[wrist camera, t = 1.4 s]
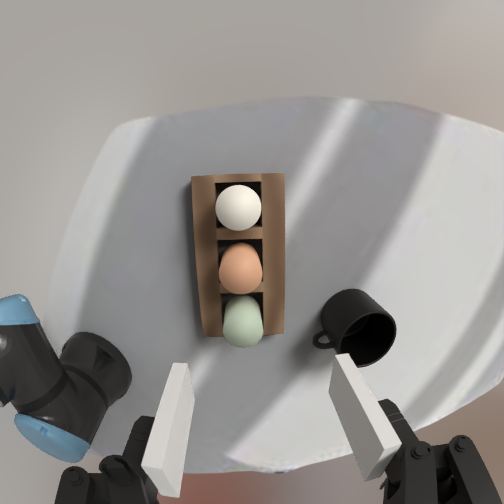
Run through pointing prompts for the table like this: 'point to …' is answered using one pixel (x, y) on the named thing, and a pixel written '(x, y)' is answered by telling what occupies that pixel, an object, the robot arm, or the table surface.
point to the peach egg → (240, 268)
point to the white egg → (238, 207)
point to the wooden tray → (267, 231)
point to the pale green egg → (242, 321)
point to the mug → (356, 327)
